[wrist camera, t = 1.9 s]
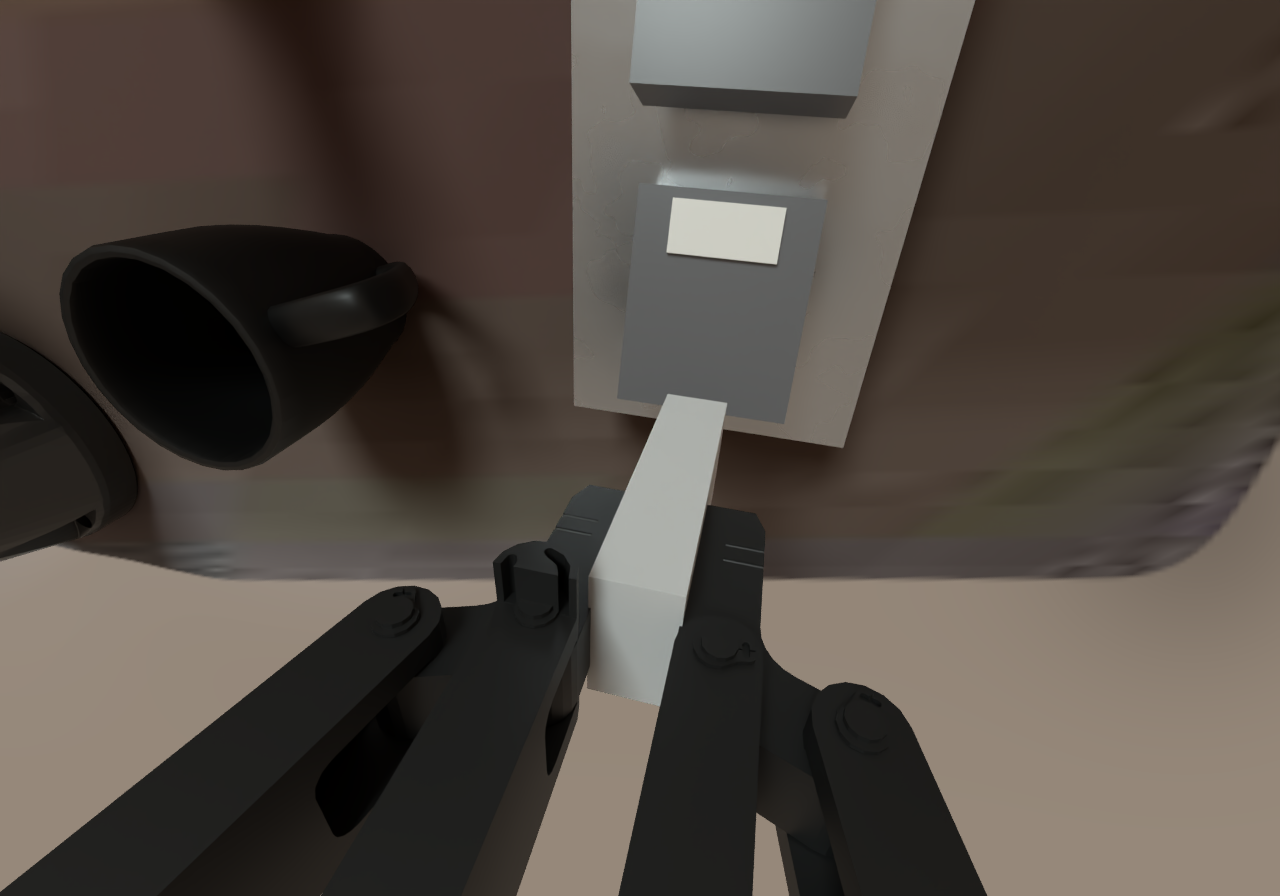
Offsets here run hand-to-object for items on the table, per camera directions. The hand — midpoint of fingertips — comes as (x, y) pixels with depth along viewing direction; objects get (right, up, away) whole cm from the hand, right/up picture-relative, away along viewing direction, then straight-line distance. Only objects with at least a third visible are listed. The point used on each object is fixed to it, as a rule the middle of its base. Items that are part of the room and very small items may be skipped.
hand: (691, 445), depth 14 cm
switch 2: (+1, +4, +2) cm, 5 cm away
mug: (-13, +8, +12) cm, 19 cm away
